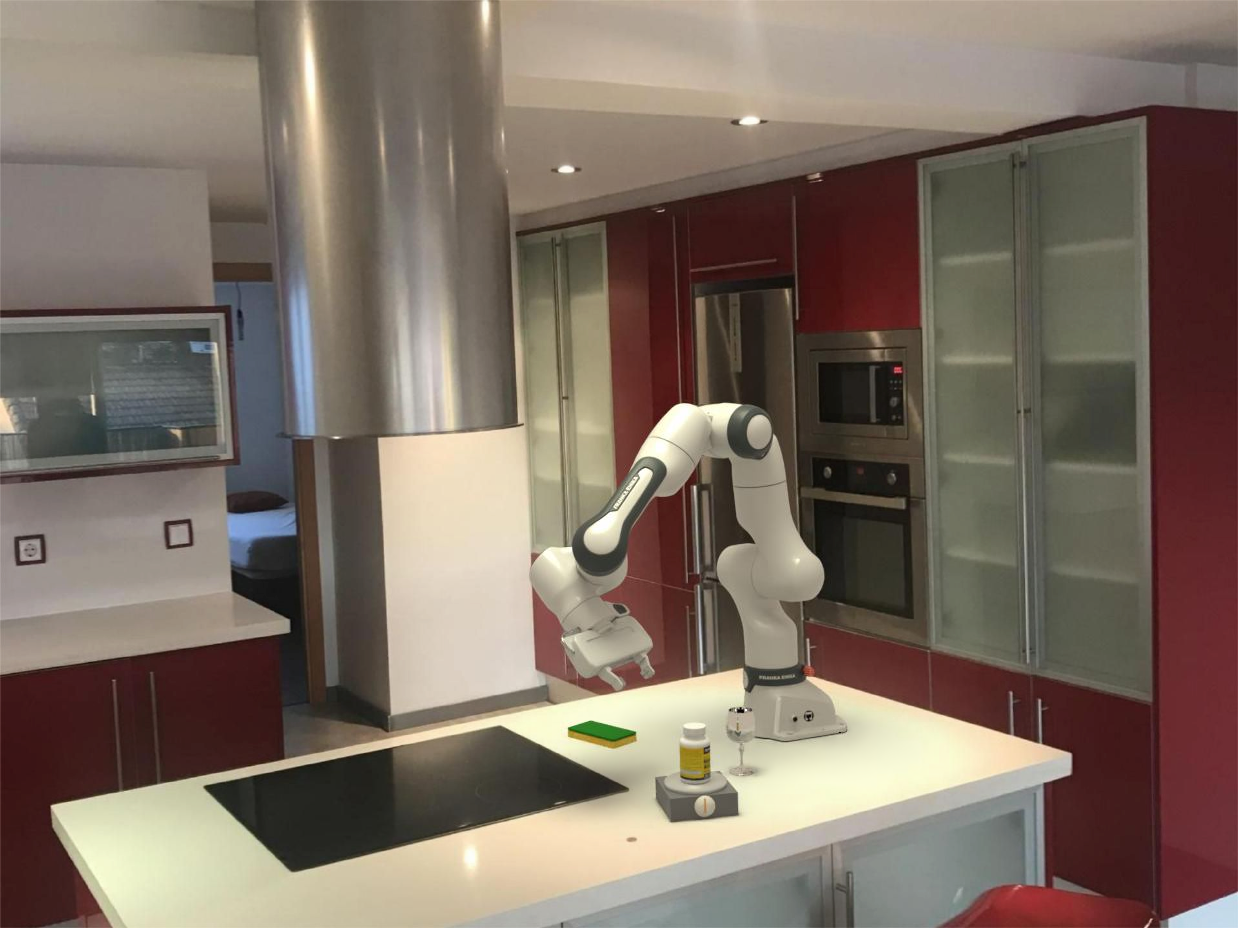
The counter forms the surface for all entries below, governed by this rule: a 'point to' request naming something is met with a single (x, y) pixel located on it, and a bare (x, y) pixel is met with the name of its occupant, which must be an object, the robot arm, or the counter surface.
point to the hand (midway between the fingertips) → (636, 682)
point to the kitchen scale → (696, 797)
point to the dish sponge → (602, 734)
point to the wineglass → (741, 732)
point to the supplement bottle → (695, 754)
